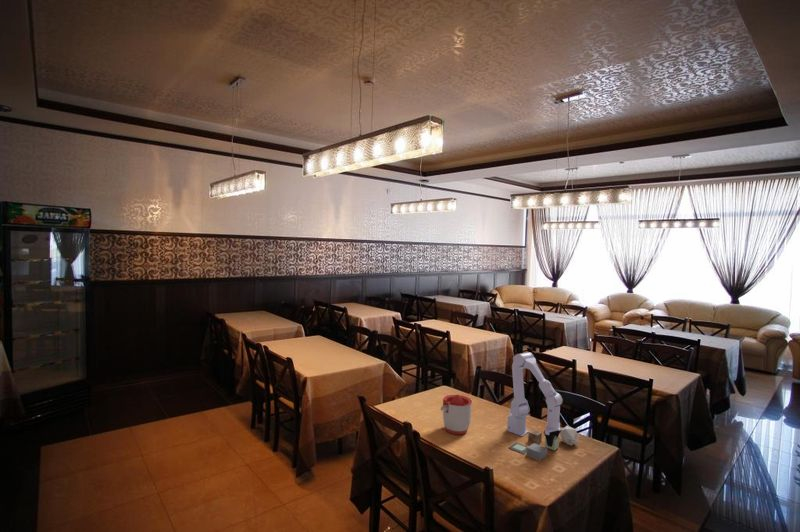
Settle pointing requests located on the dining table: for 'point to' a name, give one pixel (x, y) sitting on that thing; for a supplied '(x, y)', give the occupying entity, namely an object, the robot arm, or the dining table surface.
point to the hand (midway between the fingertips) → (551, 444)
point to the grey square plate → (518, 448)
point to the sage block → (555, 443)
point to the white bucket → (456, 413)
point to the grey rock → (569, 435)
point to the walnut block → (534, 436)
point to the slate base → (537, 451)
